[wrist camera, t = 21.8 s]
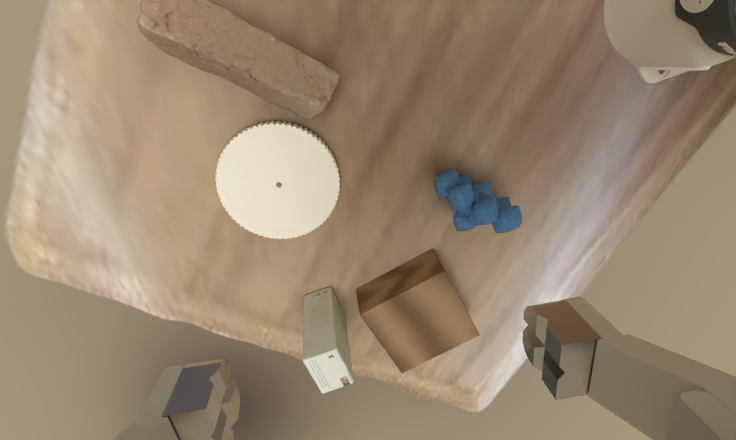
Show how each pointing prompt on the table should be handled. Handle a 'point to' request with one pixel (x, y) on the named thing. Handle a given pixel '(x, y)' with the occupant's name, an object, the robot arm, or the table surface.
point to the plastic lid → (277, 180)
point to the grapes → (476, 203)
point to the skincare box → (326, 341)
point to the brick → (238, 53)
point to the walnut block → (415, 312)
